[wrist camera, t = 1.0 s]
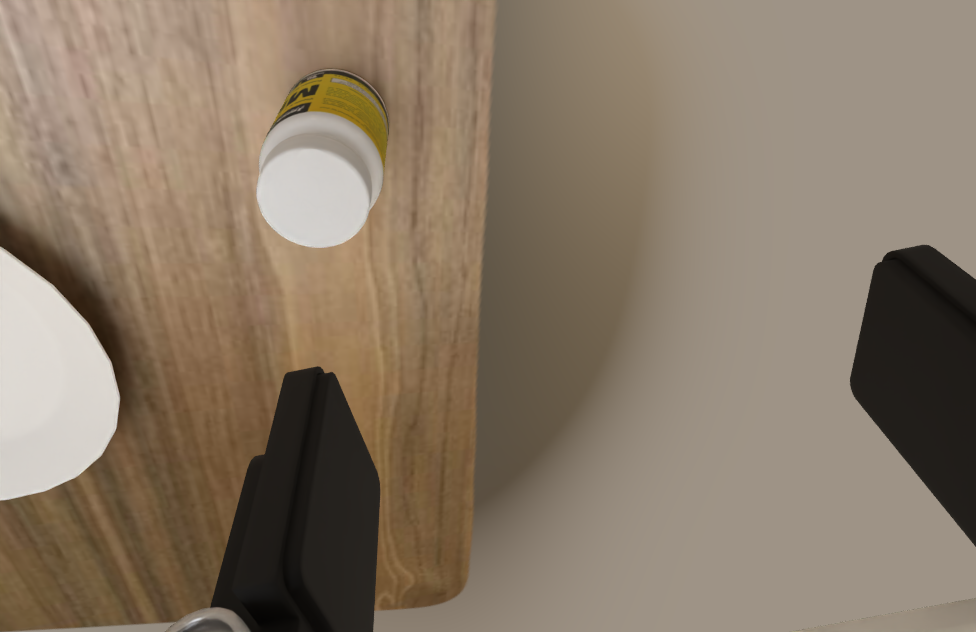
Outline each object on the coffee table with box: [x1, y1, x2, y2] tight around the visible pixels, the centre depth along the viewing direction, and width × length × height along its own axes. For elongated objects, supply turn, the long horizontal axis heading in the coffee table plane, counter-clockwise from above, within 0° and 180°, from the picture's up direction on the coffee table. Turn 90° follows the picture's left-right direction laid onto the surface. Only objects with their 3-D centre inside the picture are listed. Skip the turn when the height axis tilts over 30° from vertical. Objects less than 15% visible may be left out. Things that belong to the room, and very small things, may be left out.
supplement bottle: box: [256, 69, 389, 248], centre depth 26 cm, size 5×5×8 cm
